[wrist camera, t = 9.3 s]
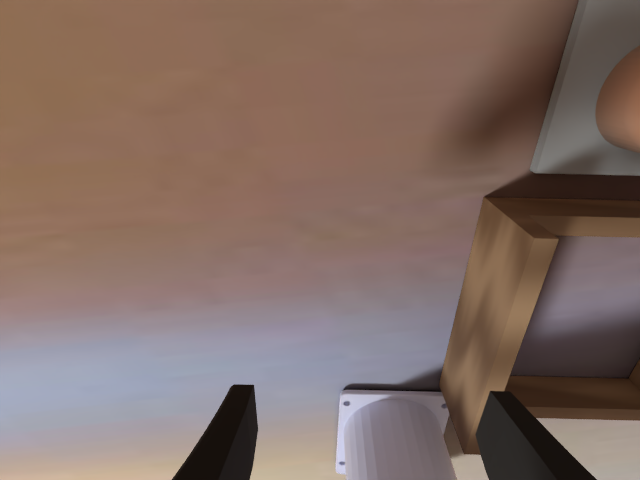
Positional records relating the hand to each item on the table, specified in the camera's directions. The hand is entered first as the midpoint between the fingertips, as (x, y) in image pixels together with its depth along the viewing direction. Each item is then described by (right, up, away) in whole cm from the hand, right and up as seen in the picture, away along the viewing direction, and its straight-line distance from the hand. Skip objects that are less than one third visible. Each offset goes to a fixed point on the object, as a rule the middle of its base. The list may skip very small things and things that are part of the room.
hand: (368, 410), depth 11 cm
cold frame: (+14, +1, +11) cm, 18 cm away
